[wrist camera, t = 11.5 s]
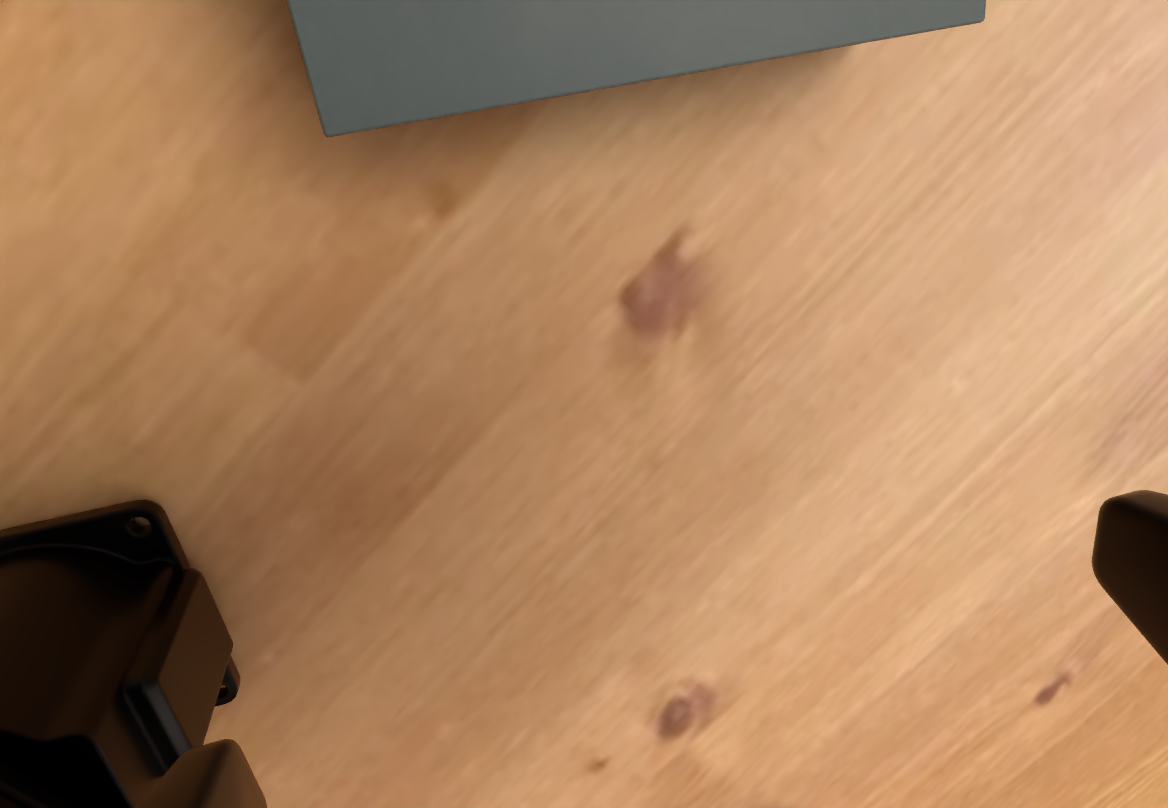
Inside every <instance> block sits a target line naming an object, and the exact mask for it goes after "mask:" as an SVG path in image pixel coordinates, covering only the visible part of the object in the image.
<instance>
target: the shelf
mask: <svg viewBox="0 0 1168 808" xmlns="http://www.w3.org/2000/svg"><path fill="white" fill-rule="evenodd" d="M287 4H288V7H289V11H290V14H291V18H292V22H293V25H294V29H295V32H296V36H297V39H298V43H299V47H300V50H301V54H302V57H303V61H304V64H305V68H306V72H307V75H308V79H309V82H310V86H311V90H312V93H313V97H314V100H315V104H316V107H317V111H318V115H319V118H320V122H321V125H322V129H323V132H324V135H325V136H326V137H332V136H338V135H344V134H349V133H355V132H361V131H366V130H372V129H378V128H383V127H389V126H395V125H400V124H406V123H412V122H417V121H423V120H429V119H434V118H440V117H446V116H452V115H457V114H463V113H469V112H474V111H480V110H486V109H491V108H497V107H503V106H508V105H514V104H520V103H525V102H531V101H537V100H542V99H548V98H554V97H559V96H565V95H571V94H577V93H582V92H588V91H594V90H599V89H605V88H611V87H616V86H622V85H628V84H633V83H639V82H645V81H650V80H656V79H662V78H667V77H673V76H679V75H685V74H690V73H696V72H702V71H707V70H713V69H719V68H724V67H730V66H736V65H741V64H747V63H753V62H758V61H764V60H770V59H775V58H781V57H787V56H793V55H798V54H804V53H810V52H815V51H821V50H827V49H832V48H838V47H844V46H849V45H855V44H861V43H866V42H872V41H878V40H883V39H889V38H895V37H900V36H906V35H912V34H918V33H923V32H929V31H935V30H940V29H946V28H952V27H957V26H963V25H969V24H974V23H980V22H982V21H984V19H985V6H986V0H287Z"/></svg>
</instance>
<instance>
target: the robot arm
mask: <svg viewBox="0 0 1168 808" xmlns="http://www.w3.org/2000/svg"><path fill="white" fill-rule="evenodd" d="M134 517H143V518H145V519H147V520H148V521H149V522H150V523H151V525H149V526H142V525H140V524H137V523H136V521H135V520H134ZM1092 567H1093V571H1094V574H1095V576H1096V578H1097V580H1098V582H1099V583H1100V585H1101V586H1102V587H1103V589H1104V590H1105V591H1106V592H1107V593H1108V595H1109V596H1110V597H1111V598H1112V599H1113V600H1114V602H1115V603H1116V604H1117V605H1118V606H1119V608H1120V609H1121V610H1122V611H1123V612H1124V613H1125V615H1126V616H1127V617H1128V618H1129V619H1130V621H1131V622H1132V623H1133V624H1134V625H1135V627H1136V628H1137V629H1138V630H1139V631H1140V632H1141V634H1142V635H1143V636H1144V637H1145V638H1146V640H1147V641H1148V642H1149V643H1150V644H1151V645H1152V647H1153V648H1154V649H1155V650H1156V651H1157V653H1158V654H1159V655H1160V656H1161V657H1162V658H1163V660H1164V661H1165V662H1166V663H1167V664H1168V495H1166V494H1162V493H1158V492H1154V491H1148V490H1139V491H1134V492H1130V493H1127V494H1123V495H1119V496H1116V497H1112V498H1109V499H1108V500H1106V501H1105V502H1104V503H1103V505H1102V506H1101V508H1100V511H1099V515H1098V522H1097V529H1096V535H1095V542H1094V548H1093V555H1092ZM232 648H233V642H232V639H231V637H230V635H229V633H228V630H227V628H226V626H225V624H224V621H223V619H222V617H221V615H220V613H219V610H218V608H217V606H216V604H215V601H214V599H213V597H212V595H211V592H210V590H209V588H208V586H207V584H206V581H205V579H204V577H203V575H202V573H200V572H199V571H197V570H196V569H194V568H192V567H191V568H190V566H189V563H188V561H187V559H186V557H185V555H184V552H183V550H182V548H181V546H180V543H179V541H178V539H177V537H176V535H175V532H174V530H173V528H172V526H171V524H170V521H169V519H168V517H167V515H166V513H165V511H164V510H163V509H162V507H161V506H160V505H158V504H156V503H155V502H152V501H148V500H136V501H131V502H127V503H122V504H118V505H113V506H109V507H104V508H100V509H95V510H91V511H86V512H82V513H77V514H73V515H68V516H64V517H59V518H55V519H50V520H46V521H41V522H37V523H33V524H28V525H24V526H19V527H15V528H10V529H6V530H1V531H0V808H267V804H266V801H265V797H264V795H263V793H262V791H261V789H260V787H259V785H258V782H257V780H256V778H255V776H254V774H253V772H252V770H251V768H250V766H249V764H248V762H247V760H246V758H245V756H244V754H243V752H242V750H241V748H240V746H239V745H238V744H237V743H236V742H235V741H233V740H230V739H224V740H220V741H216V742H213V743H209V744H205V745H203V743H204V740H205V736H206V733H207V730H208V726H209V723H210V720H211V717H212V713H213V710H214V707H215V706H219V705H223V704H226V703H228V702H231V701H232V700H233V699H234V698H235V697H236V695H237V692H238V689H239V685H240V676H239V673H238V671H237V669H236V667H235V665H234V662H233V660H232V658H231V656H230V654H231V651H232ZM221 684H223V685H225V686H226V687H221ZM220 687H221V688H220Z"/></svg>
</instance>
